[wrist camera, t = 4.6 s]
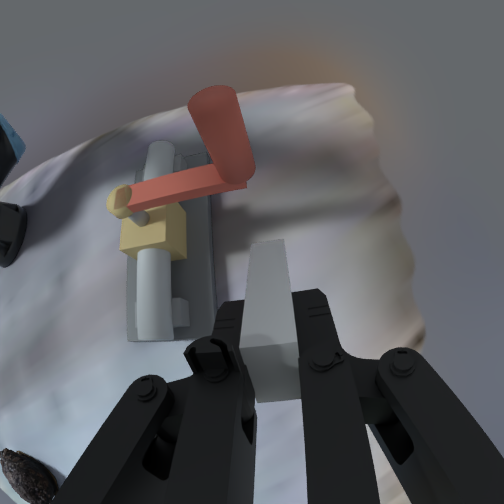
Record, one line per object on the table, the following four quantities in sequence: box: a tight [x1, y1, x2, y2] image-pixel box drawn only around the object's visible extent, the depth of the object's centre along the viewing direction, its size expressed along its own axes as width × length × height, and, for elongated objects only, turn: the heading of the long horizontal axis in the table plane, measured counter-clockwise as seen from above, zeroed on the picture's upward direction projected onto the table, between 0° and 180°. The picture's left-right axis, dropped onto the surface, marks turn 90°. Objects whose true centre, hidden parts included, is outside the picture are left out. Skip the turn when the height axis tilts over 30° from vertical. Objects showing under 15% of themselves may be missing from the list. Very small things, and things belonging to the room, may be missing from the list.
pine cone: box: [0, 448, 59, 504], centre depth 21 cm, size 10×18×10 cm, turn 98°
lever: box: [106, 85, 256, 219], centre depth 20 cm, size 15×3×9 cm, turn 96°
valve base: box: [120, 140, 217, 342], centre depth 31 cm, size 12×26×11 cm, turn 6°
